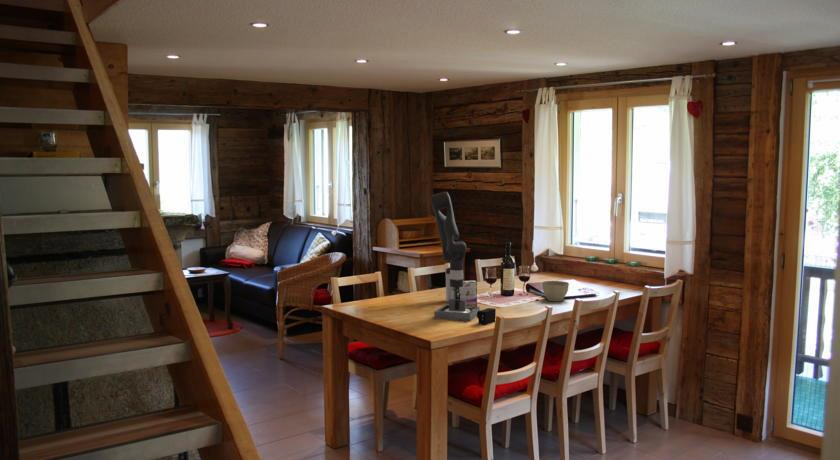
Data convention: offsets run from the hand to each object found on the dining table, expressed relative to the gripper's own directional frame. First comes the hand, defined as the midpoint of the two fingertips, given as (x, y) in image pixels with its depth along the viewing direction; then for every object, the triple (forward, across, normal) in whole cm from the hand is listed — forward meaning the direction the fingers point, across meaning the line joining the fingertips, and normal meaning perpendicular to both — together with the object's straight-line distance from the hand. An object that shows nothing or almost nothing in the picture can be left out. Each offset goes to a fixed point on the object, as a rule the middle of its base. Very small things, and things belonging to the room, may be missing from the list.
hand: (456, 308), depth 383 cm
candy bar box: (+4, -17, +8) cm, 20 cm away
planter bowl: (+4, -38, +66) cm, 76 cm away
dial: (+2, 0, 0) cm, 2 cm away
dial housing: (+4, 0, 0) cm, 4 cm away
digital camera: (+4, +17, +14) cm, 22 cm away
